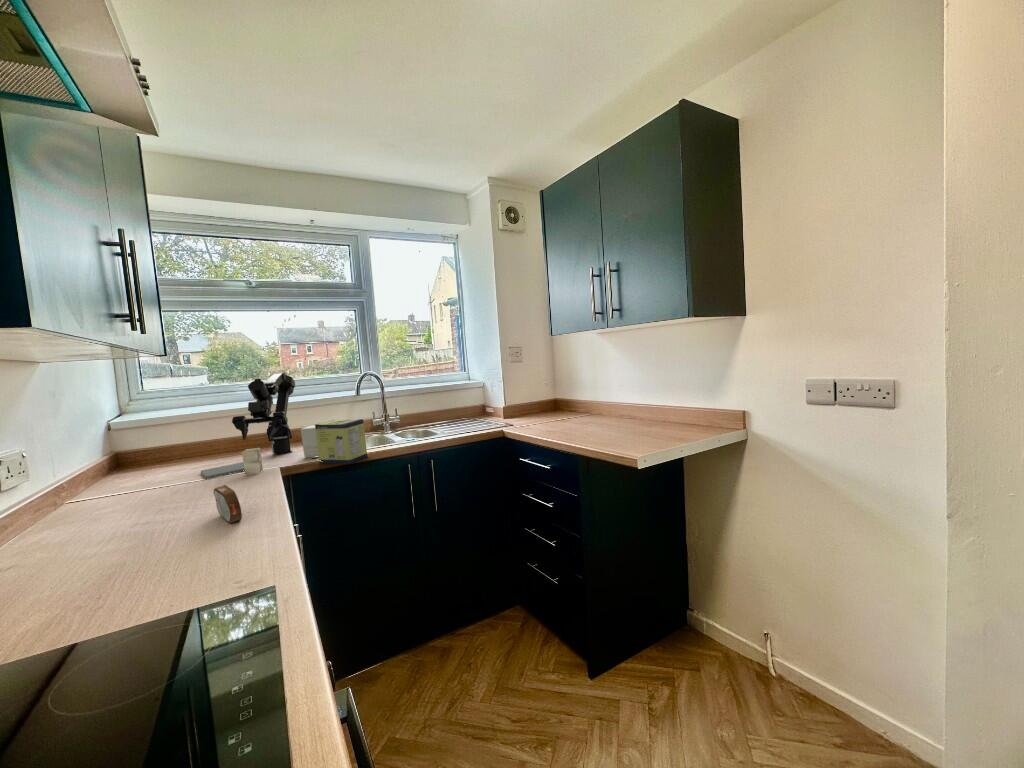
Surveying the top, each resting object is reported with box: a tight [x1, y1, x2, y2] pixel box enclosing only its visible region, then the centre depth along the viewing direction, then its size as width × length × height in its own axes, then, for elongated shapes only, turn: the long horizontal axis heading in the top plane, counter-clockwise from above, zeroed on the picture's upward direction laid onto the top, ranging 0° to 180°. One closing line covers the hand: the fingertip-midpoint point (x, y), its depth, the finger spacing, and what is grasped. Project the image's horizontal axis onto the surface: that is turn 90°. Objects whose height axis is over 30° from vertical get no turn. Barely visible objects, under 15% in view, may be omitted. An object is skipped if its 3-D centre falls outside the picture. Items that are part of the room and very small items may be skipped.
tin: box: [213, 484, 243, 524], centre depth 113 cm, size 15×3×8 cm, turn 47°
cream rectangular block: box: [241, 447, 264, 476], centre depth 160 cm, size 4×4×9 cm
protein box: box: [314, 418, 368, 465], centre depth 170 cm, size 10×16×16 cm
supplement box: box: [300, 424, 319, 458], centre depth 182 cm, size 7×7×13 cm
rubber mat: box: [200, 461, 244, 479], centre depth 167 cm, size 14×14×1 cm
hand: (256, 437), depth 166 cm, fingers open, 9 cm apart
